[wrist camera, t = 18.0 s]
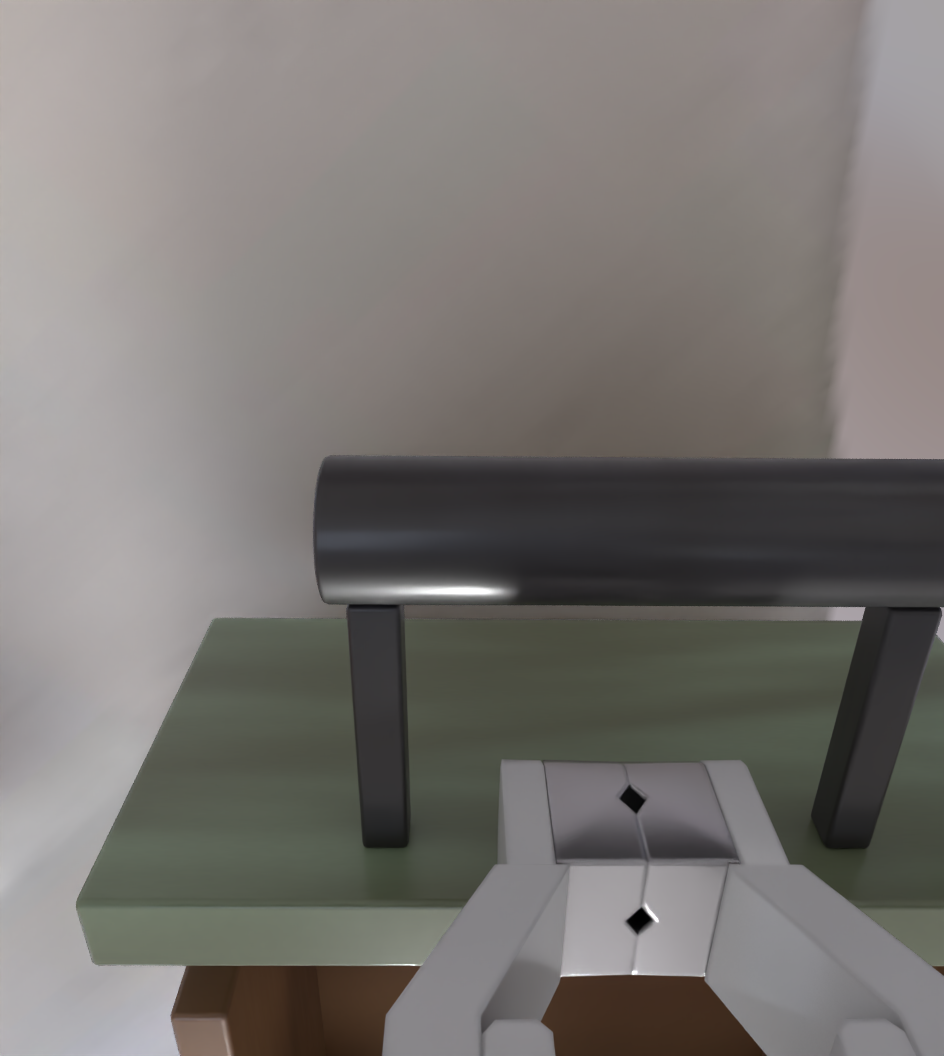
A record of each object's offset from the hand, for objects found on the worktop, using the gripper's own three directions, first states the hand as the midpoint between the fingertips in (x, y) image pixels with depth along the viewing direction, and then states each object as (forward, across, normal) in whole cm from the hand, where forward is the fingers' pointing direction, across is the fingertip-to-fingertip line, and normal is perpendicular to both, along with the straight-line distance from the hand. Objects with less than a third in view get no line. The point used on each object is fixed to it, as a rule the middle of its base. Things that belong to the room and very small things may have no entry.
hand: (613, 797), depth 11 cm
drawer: (+5, 0, +5) cm, 7 cm away
